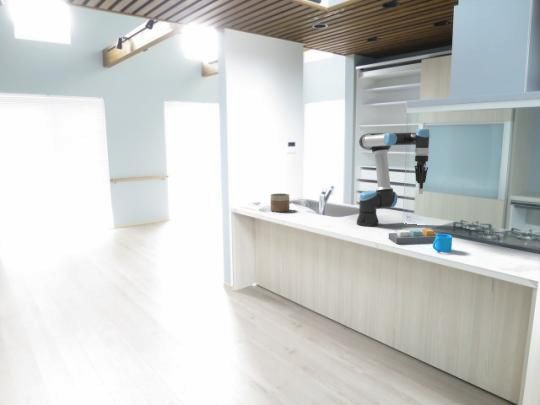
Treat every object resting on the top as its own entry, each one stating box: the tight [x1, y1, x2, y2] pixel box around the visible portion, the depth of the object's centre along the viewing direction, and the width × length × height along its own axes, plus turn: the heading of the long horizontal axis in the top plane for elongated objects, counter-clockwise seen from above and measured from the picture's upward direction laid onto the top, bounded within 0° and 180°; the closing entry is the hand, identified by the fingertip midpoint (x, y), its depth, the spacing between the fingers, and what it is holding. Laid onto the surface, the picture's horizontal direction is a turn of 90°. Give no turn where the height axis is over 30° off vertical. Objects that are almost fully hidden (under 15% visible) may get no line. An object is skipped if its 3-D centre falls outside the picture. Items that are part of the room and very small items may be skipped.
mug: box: [432, 233, 453, 253], centre depth 214 cm, size 12×8×8 cm
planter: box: [270, 192, 290, 213], centre depth 336 cm, size 16×16×14 cm
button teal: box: [409, 229, 422, 236], centre depth 236 cm, size 5×5×4 cm
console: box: [388, 231, 438, 245], centre depth 236 cm, size 12×28×4 cm, turn 95°
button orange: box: [422, 228, 435, 236], centre depth 236 cm, size 5×5×4 cm
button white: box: [396, 229, 409, 237], centre depth 235 cm, size 5×5×4 cm
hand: (419, 193), depth 243 cm, fingers closed
